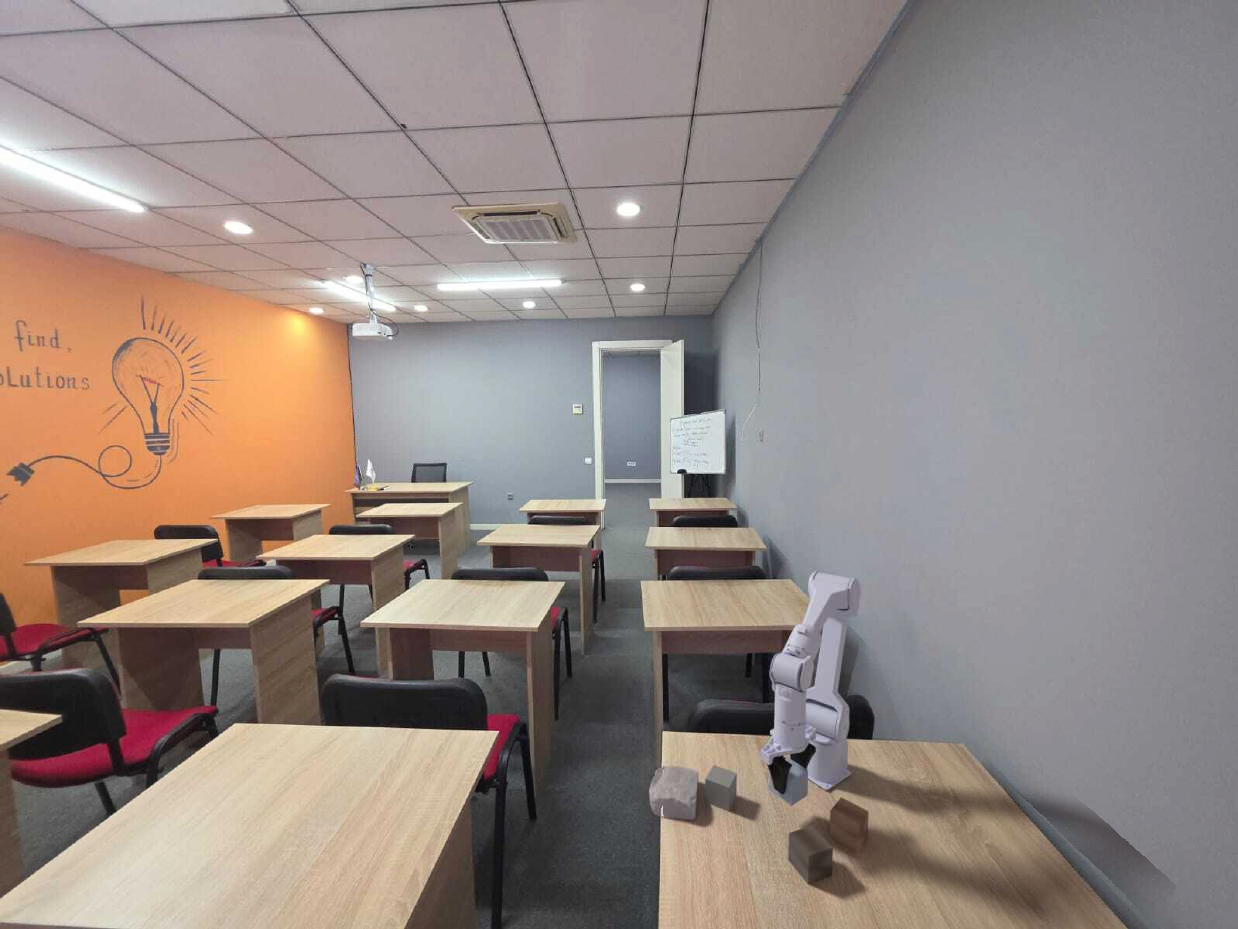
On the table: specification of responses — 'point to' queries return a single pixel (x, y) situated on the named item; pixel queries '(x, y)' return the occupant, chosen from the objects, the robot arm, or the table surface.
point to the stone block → (674, 792)
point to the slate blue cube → (793, 784)
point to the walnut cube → (849, 824)
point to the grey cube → (720, 787)
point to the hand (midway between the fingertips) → (788, 785)
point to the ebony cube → (810, 854)
